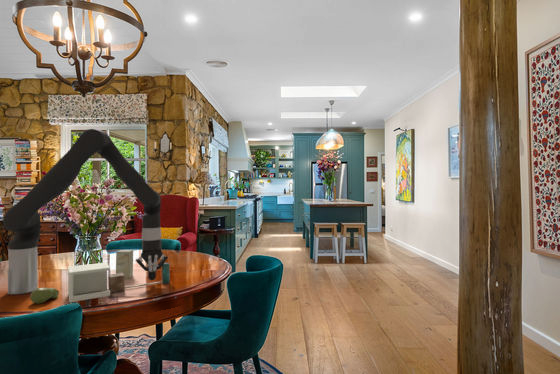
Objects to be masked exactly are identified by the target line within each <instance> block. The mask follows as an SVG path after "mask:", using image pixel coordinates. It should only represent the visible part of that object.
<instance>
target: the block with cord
mask: <svg viewBox="0 0 560 374" xmlns="http://www.w3.org/2000/svg"><path fill="white" fill-rule="evenodd" d="M170 270H171V268H170V262H165V263H164V264H163V265H162V267H161V281H155V282H147V283H141V284H136V285H129V286H125V285H126V281H125V279H126V278H125V275H124V274H123V273H117V274H116V273H110V274H108V290H110V294H111V293H119V292H125V291H126V290H125V289H132V288H137V287H143V286H151V285H157V284H170V281H171V280H170V279H171V278H170V275H171V274H170V273H171V272H170Z"/></svg>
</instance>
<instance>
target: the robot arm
mask: <svg viewBox="0 0 560 374" xmlns="http://www.w3.org/2000/svg"><path fill="white" fill-rule="evenodd" d="M96 153H97V154H98V155H100V156H101V157H102V158H103V159H105V161H107V162H108V163H109V166H111V168H112V169H113V170H114V172H115V174H116V176H117V177H118V178H119V179H120V181H121V182H122V183H123V184H124V185H125V186H126V187H127V188H128V189H129V190H130V191H131V192H132V193H133V195H135V197H136V198H137V200H139V202H140V203H141V204H142V205H143V214H142V220H141V221H142V223H141V225H142V226H141V227H142V229H141V253H140V256H139V257H138V258H136V259H135V262H136V263H137V264H138V265H139V266H140V267H141V268H142V269H143V271H146V272H147V277H148V280H150V281H155V279H156V278H157V270H160V269H162V265H163V264H164V263H166V262H167V260H168V258H169V257H168V256H167V255H165V254H163V251H162V229H161V209H162V197H161V195H160V193H159V192H158V191H157V190H154V189H153V188H152V187H151V186H150V185H149V184H148V183H147V181H146V180H145V177H143V176H142V175H141V174H140V172H138V170H137V169H136V168H135V167H134V166H133V165H132V164H131V163H130V162H129V161H128V160H127V158H126V157H125V156H124V155H123V154H122V152H121V151H120V150H119V149H118V147H117V146H116V144H115V143H114V141H113V140H112V139H111V137H110V136H109V134H108V133H107V132H105V131H103V130H100V129H97V128H89V129H86V130H84V131H83V132H82V133H81V134H80V136H79V137H78V138H77V139H76V140H75V142H74V143H73V145H72V146H71V147H70V148H69V150H68V151H67V152H66V153H65V154H64V155H63V156H62V157H61V158H60V159H58V161H57V162H56V163H55V164H54V165H53V166H52V167H51V168H50V169H49V170H48V171H47V172H45V174H44V175H43V176H42V178H40V180H39V181H38V182H37V183H36V184H35V185H34V186H32V188H31V190H29V191H28V193H26V195H24V197H22V198H21V199H20V200H19V201H18V202H17V203H16V204H14V205H13V206H12V207H11V208H9V209H8V210H7V211H6V212H5V214H4V215H3V219H2V225H3V227H4V228H5V229H6V230H7V231H10V232H15V234H14V236H13V238H12V239H11V240H9V242H8V244H7V245H8V246H7V247H8V254H7V255H8V258H7V259H8V269H7V295H8V294H10V295H24V294H28V293H32V292H33V291H34V290H35V289H38V287H39V286H38V285H39V284H38V282H39V281H38V279H39V276H38V269H39V268H38V266H39V265H38V243H39V241H40V236H41V216H40V213H39V210H41V209H42V208H43V207H44V206H46V205H47V204H49V203H51V202H52V201H54V200H55V199H57V198H59V197H60V196H61V195H62V194H64V192H66V191H67V190H68V189H69V188H70V187H71V185H72V184H73V183H74V182H75V181H76V179H77V178H78V175H79V174H80V173H81V169H82V168H83V166H84V165H85V164H86V162H88V160H89V159H90V158H91V157H92V156H94V155H95V154H96ZM143 260H144V262H145V263H146V265H145V264H144V263H143Z"/></svg>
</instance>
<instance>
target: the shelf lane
mask: <svg viewBox="0 0 560 374" xmlns="http://www.w3.org/2000/svg"><path fill="white" fill-rule="evenodd" d="M67 271H68V272H67V277H68V281H67V284H68V287H67V289H68V291H67V292H68V293H67V294H68V303H74V302H79V301H85V300H92V299H97V298H105V297H110V296H111V293H110V290H109V289H108V271H111V267H110V266H109V264H108V262H107V261H106V262H100V263H99V262H98V263H91V264H89V263H88V264H80V265H79V264H78V265H71V266H68V267H67Z"/></svg>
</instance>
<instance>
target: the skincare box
mask: <svg viewBox="0 0 560 374" xmlns="http://www.w3.org/2000/svg"><path fill="white" fill-rule="evenodd" d="M115 252H116V253H115V274H117V273H123V274H124V275H125V279H130V278H132V277H133V276H134V249H120V250H116V251H115Z"/></svg>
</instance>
